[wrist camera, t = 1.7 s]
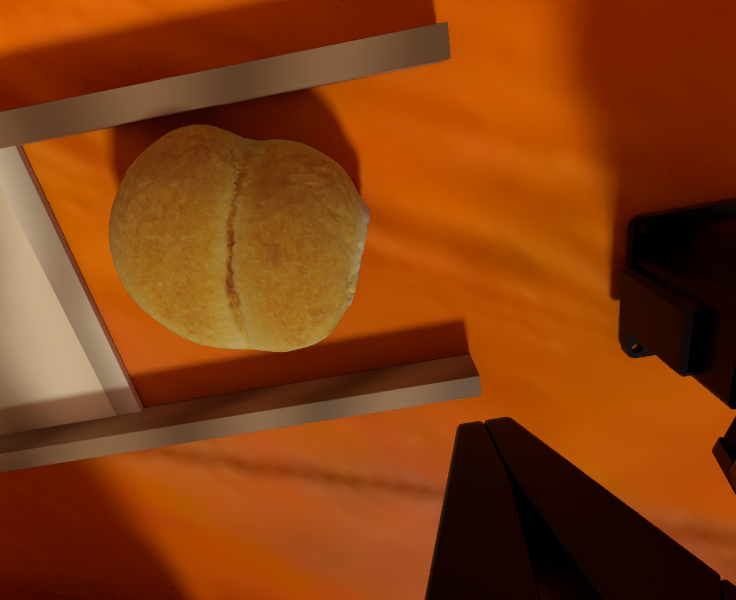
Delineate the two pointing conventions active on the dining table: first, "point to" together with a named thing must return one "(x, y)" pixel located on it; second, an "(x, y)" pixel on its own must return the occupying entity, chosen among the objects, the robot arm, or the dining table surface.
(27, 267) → the brown open frame
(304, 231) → the bread roll
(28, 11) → the dining table surface
